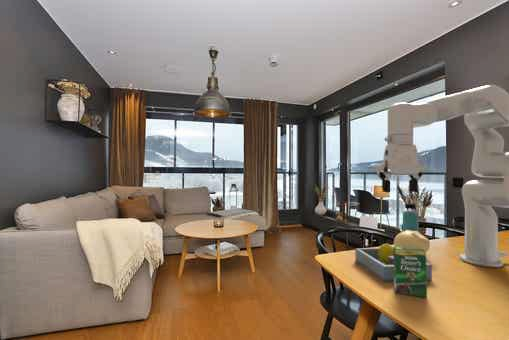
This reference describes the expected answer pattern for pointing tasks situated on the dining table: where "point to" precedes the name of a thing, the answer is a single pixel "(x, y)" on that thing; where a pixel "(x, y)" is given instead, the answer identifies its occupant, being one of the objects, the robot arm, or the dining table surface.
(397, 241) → the sculpture
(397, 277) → the coffee box
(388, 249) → the lemon
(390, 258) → the walnut cube
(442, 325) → the dining table surface
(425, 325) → the dining table surface
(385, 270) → the tote
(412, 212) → the beverage bottle
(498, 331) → the dining table surface
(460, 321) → the dining table surface
